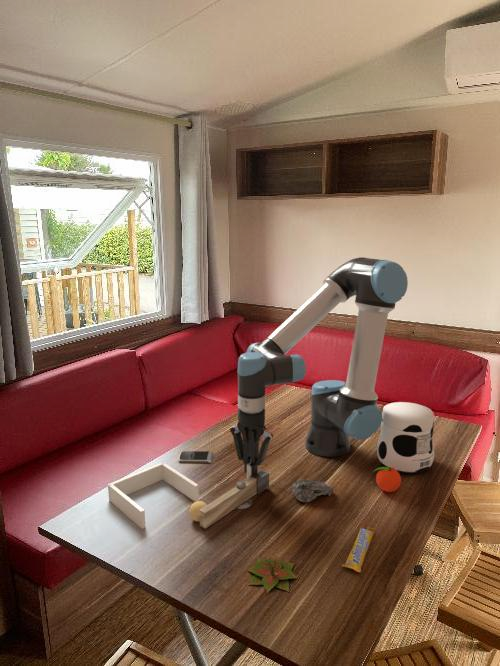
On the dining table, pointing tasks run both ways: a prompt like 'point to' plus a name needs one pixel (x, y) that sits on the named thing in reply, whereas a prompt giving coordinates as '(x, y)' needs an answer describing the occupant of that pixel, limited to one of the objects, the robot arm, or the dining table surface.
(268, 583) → the lily flower
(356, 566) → the candy bar
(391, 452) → the milk container
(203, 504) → the ball
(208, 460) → the cell phone
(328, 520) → the dining table surface
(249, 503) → the pivot disc
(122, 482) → the frame
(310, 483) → the fossilized seashell
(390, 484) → the clementine
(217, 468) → the dining table surface
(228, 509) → the lever
